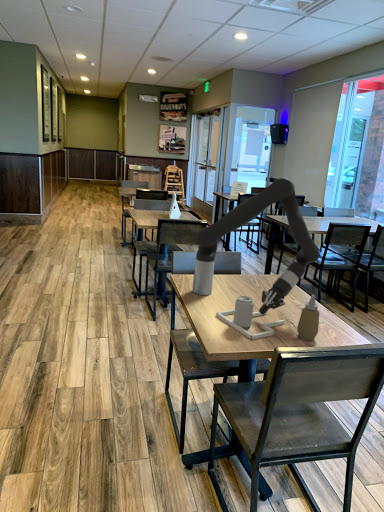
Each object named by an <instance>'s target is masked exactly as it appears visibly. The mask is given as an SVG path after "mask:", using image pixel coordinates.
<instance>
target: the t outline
mask: <svg viewBox="0 0 384 512" xmlns="http://www.w3.org/2000/svg"><path fill="white" fill-rule="evenodd" d="M234 311H235V308H234V309H230V310H223V311H218V312H216V313H215V314H216V315H215V316H216V317H217V318H219V319H220V320H222V321H223V322H224V323H226V324H227V323H228V325H229V326H230V325H231V327H232V328H233V327H234V328H233V329H234V330H236V331H238V332H239V331H240V332H239V333H241V334H242V333H243V334H242V335H244V336H245V335H246V336H245V337H247V338H248V337H249V338H248V339H250V340H251V339H253V340H257V339H261V338H265V337H270V336H274V335H275V334H276V330H274V329H273V328H271V327H277V326H281V325H284V324H285V320H284V319H281V320H276V321H272V322H265V323H261V329H263V330H264V331H263V332H258V333H255V334H252V333H250V332H249V331H247V330H246V328H242V327H240V326H238V325H237V324H235V323H234V322H233V321H232V320H231V319H229V318H228V317H226V316H228V315H234ZM265 315H268V311H267V312H266V313H265V314H264V315H262V314H261V313H260V312H259V311H253V315H252V318H254V317H260V316H265Z"/></svg>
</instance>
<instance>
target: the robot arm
mask: <svg viewBox="0 0 384 512" xmlns="http://www.w3.org/2000/svg"><path fill="white" fill-rule="evenodd" d="M279 201H280V203H281V204H282V207H283V210H284V211H285V215H286V218H287V220H286V221H287V223H288V227H289V230H290V232H291V233H290V234H291V235H292V236H291V237H292V238H293V241H294V243H295V244H298V245H299V246H300V250H299V251H298V252H297V253H296V254H295V256H294V258H293V260H292V262H291V263H290V264H289V266H287V268H286V269H285V270H284V271H283V272H282V273H281V274H280V275H279V277H277V279H276V280H275V281H274V282H273V284H272V286H271V287H270V289H268V290H267V291H265V290H262V292H261V293H262V295H261V302H262V303H263V304H262V305H261V306H260V307H259V309H258V312H260V313H261V314H262V315H261V316H265V315H266V314H265V313H266V312H267V313H268V310H271V309H272V310H275V309H277V308H280V307H282V306H285V305H286V302H285V300H284V299H285V297H287V296H288V295H289V294H290V292H291V291H292V290H293V289H294V288H295V286H296V285H297V284H298V282H299V280H300V279H301V278H302V276H303V275H304V274H305V272H306V268H307V266H308V265H309V264H312V263H316V262H317V261H318V260H319V258H320V251H319V248H318V245H317V244H316V243H315V241H314V240H313V238H312V236H310V232H309V229H308V227H307V224H306V223H305V220H304V217H303V215H302V212H301V210H300V207H299V205H298V204H299V203H298V200H297V196H296V189H295V184H294V183H293V182H292V180H291V179H289V178H287V177H279V178H277V179H275V180H274V181H272V182H271V183H270V184H269V185H268V186H266V188H264V189H263V190H261V191H260V192H258V193H257V194H255V195H253V196H252V197H249V198H248V199H246V200H244V201H243V202H241V203H239V204H238V205H237V206H234V207H233V209H231V210H229V211H228V212H227V213H226V214H224V215H223V216H222V217H221V218H220V219H219V220H217V221H216V222H213V223H212V224H210V225H208V226H205V227H203V228H201V229H200V230H198V231H197V233H196V235H195V242H196V243H197V245H198V250H197V252H196V256H195V257H196V258H195V270H194V273H193V278H192V279H193V281H192V289H191V290H192V291H191V292H194V294H196V295H198V294H199V296H209V295H212V293H213V292H212V291H213V281H214V270H215V263H216V262H215V260H216V256H217V251H218V241H219V240H220V239H222V238H223V237H224V236H226V235H227V234H230V233H232V232H234V231H237V229H240V228H241V227H243V226H245V225H247V224H249V222H252V221H253V220H254V219H255V218H257V217H258V216H259V215H261V214H262V213H263V212H264V211H265V210H266V209H267V208H268V207H271V206H272V205H273V204H275V203H277V202H279ZM264 314H265V315H264Z"/></svg>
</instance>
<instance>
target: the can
mask: <svg viewBox="0 0 384 512" xmlns="http://www.w3.org/2000/svg"><path fill="white" fill-rule="evenodd" d="M254 306H255V302H254V300H253V297H250V296H247V295H239V296H237V299H236V300H235V302H234V309H235V311H234V314H233V321H232V322H234V323H235V324H237V325H238V326H240V327H242V328H243V329H248V328H249V327H250V326H251V325H252V323H253V317H252V315H253V313H254Z"/></svg>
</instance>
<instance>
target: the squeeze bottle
mask: <svg viewBox="0 0 384 512" xmlns="http://www.w3.org/2000/svg"><path fill="white" fill-rule="evenodd" d="M318 308H319V304H318V303H316V295H314V294H311V296H310V299H309V301H308V302H306V303H305V306H304V307H303V308H302V309H301V313H300V316H299V321H298V324H297V329H296V330H297V334H298V338H300V339H301V340H303V341H307V342H311V341H314V340H315V338H316V336H317V335H318V334H319V324H320V311H319V309H318Z"/></svg>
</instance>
